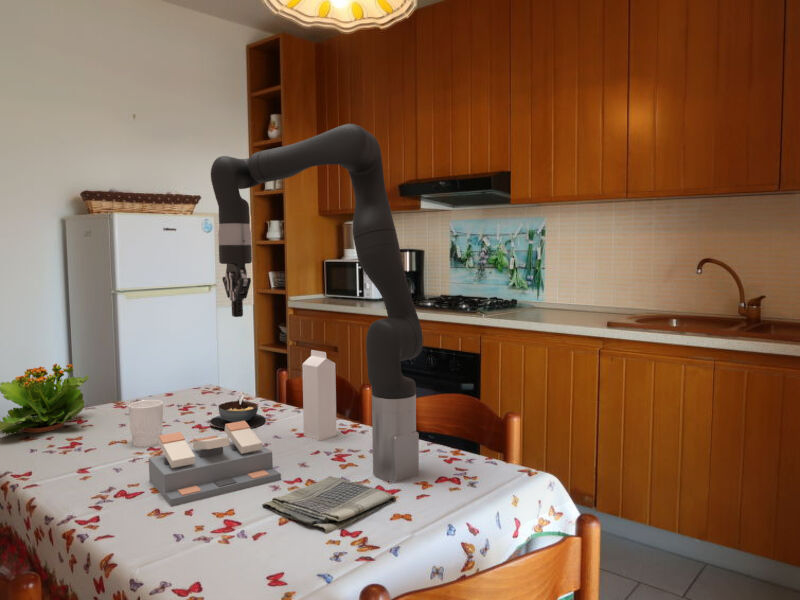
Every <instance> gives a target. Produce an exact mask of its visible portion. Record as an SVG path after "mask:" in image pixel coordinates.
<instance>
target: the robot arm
mask: <svg viewBox="0 0 800 600" xmlns="http://www.w3.org/2000/svg"><path fill="white" fill-rule="evenodd" d="M324 165H325V166H327V165H328V166H329V165H331V166H332V165H333V166H334V165H338V166H340V167H342V168H344V169H346V170H347V172H348V175H349V178H350V179H351V180H350V181H351V185H352V189H353V193H354V202H355V203H354V212H353V218H352V237H353V243H354V247H355V251H356V257H357V260H358V263H359V265H360V267H361V269H362V270H363V272H364V274H365V275H366V276H367V277H368V279H369V280H370V282H371V283H372V284H373V285H374V286H375V288H376V289H377V290H378V292H379V294H380V296H381V298H382V301H383V302H384V303H383V304H384V307H385V310H386V313H387V318H383V319H382V318H380V319H377V320H375V321H374V322H371V324H370V326H369V327H368V329H367V334H366V341H365V348H366V349H365V350H366V363H367V365H366V366H367V378H368V381H369V385H370V388H371V422H372V423H371V426H372V429H371V430H372V431H371V434H372V435H371V436H372V475H373V477H374V478H377V479H379V480H383V481H386V482H393V483H394V484H395V483H399V482H402V481H407V480H410V479H414V478H417V477H419V476H420V456H419V455H420V451H419V447H420V446H419V442H420V441H419V440H420V439H419V438H420V437H419V435H420V434H419V432H418V431H417V416H416V415H417V410H416V409H417V391H416V389H417V387H416V385H417V384H416V381H415V380H414V379H413V378H411V377H407V376H405V375H403V372H402V366H401V365H402V364H401V362H403V361H409V360H413V359H415V358H416V357H418V356H419V355H420V353H421V352H422V350H423V346H424V335H423V331H422V326H421V323H420V320H419V319H420V318H419V316H418V313H417V310H416V306H415V304H414V301H413V298H412V295H411V291H410V288H409V283H408V280H407V277H406V271H405V268H404V264H403V258H402V255H401V248H400V244H399V239H398V235H397V230H396V227H395V223H394V219H393V214H392V210H391V205H390V201H389V198H388V193H387V190H386V182H385V175H384V167H383V157H382V150H381V146H380V144H379V141H378V139H377V138H376V137H375V136H374V135H373V134H372V133H371V132H369V131H368V130H366V129H365V128H363V127H362V126H361V125H357V124H355V123H346V124H342V125H339V126H337V127H334V128H332V129H329V130H327V131H324V132H322V133H320V134H317V135H314V136H312V137H309V138H307V139H304V140H301V141H298V142H295V143H292V144H287V145H284V146H279V147H275V148H274V147H273V148H269V149H265V150H260V151H256V152H254V153H252V154H251V156H250V157H249V158H236V157H232V156H228V155H221V156H219V157H217V158H216V159H215V160H214V161H213V162H212V165H211V168H210V181H211V185H212V189H213V193H214V197H215V200H216V203H217V206H218V230H217V231H218V233H217V235H218V236H217V238H218V261H219V264H221V265H226V269H225V276H222V283H223V286H224V290H225V292H226V296H227V298H228V299H229V301H230V302H231V316H232V317H233V318H234V317H235V318H238V317H239V318H242V317H243V316H244V307H243V306H244V305H243V303H244V300H245V299H247V297H248V294H249V290H250V287H251V282H252V279H251V277H248V272H247V269H246V264H252V262H253V254H252V253H253V250H252V248H253V247H252V231H251V225H250V222H251V219H250V218H251V217H250V206H249V205H250V204H249V202H248V201H247V199H244V198H242V195H241V194H240V190H244V189H245V190H246V189H250V188H253V187H256V186H259V185H261V184H263V183H268V182H269V183H270V182H274V181H279V180H280V181H281V180H283V179H284V180H285V179H288V178H291V177H294V176H296V175H298V174H300V173H301V172H303V171H305V170H308V169H310V168H312V167H317V166H324Z"/></svg>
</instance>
